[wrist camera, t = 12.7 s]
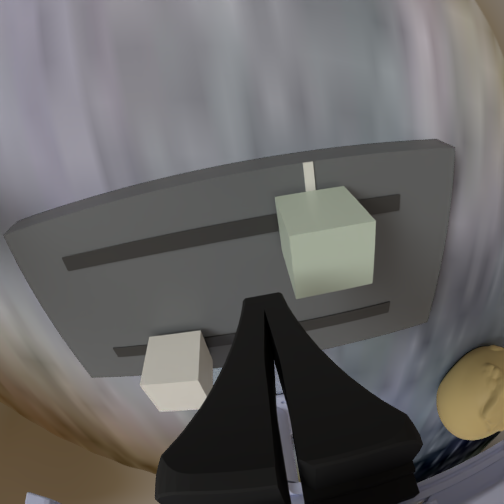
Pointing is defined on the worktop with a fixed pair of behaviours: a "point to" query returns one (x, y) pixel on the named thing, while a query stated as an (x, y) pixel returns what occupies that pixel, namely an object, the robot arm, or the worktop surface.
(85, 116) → the worktop surface
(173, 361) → the cream fader
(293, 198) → the sage fader
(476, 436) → the sculpture
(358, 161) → the mixer console
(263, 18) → the worktop surface
